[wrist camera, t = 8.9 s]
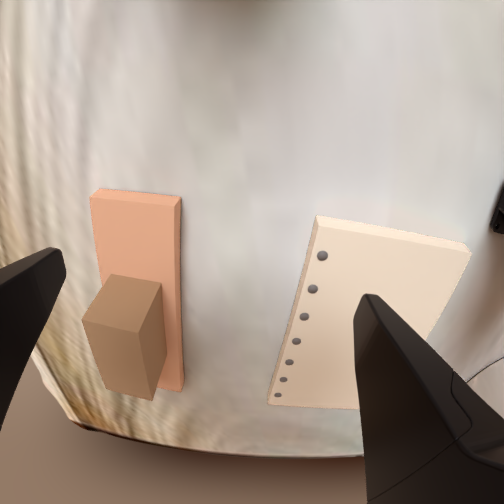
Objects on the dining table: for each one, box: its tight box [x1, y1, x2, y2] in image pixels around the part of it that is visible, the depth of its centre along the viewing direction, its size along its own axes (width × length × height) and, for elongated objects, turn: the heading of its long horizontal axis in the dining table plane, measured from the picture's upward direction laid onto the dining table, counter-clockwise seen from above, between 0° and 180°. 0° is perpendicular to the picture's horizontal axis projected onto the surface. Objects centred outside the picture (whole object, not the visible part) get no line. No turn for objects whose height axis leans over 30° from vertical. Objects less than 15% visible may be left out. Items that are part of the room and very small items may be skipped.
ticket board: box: [267, 215, 472, 409], centre depth 25 cm, size 12×20×2 cm, turn 173°
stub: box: [82, 189, 184, 401], centre depth 23 cm, size 6×20×6 cm, turn 173°
